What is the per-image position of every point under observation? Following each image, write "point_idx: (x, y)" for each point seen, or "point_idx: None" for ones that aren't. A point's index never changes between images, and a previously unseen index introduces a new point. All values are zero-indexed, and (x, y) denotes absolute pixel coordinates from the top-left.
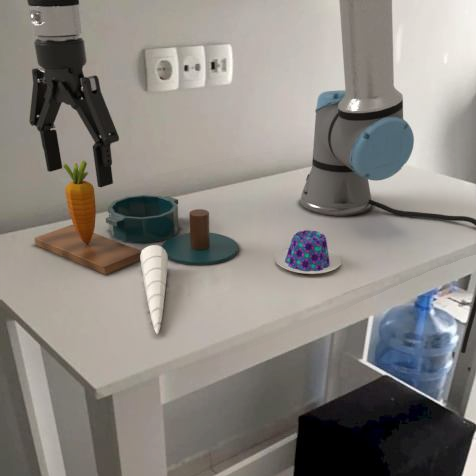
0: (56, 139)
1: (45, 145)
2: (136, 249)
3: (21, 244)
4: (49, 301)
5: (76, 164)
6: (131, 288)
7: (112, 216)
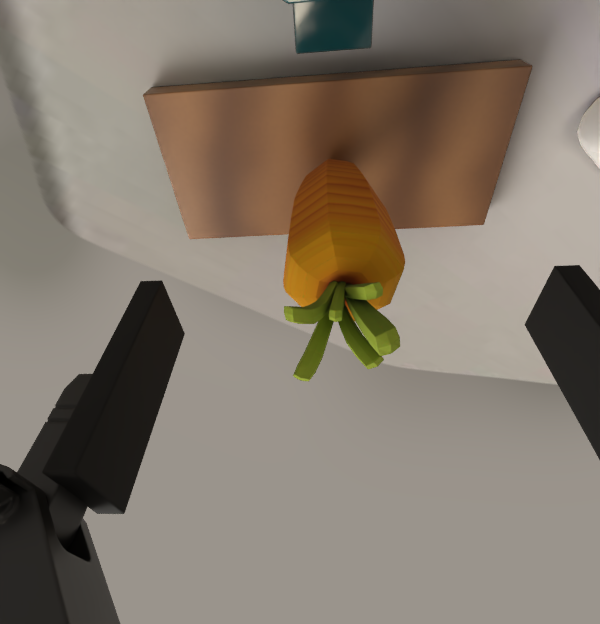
0: (105, 415)
1: (146, 441)
2: (503, 72)
3: (167, 245)
4: (448, 334)
5: (300, 317)
6: (581, 215)
7: (304, 12)
